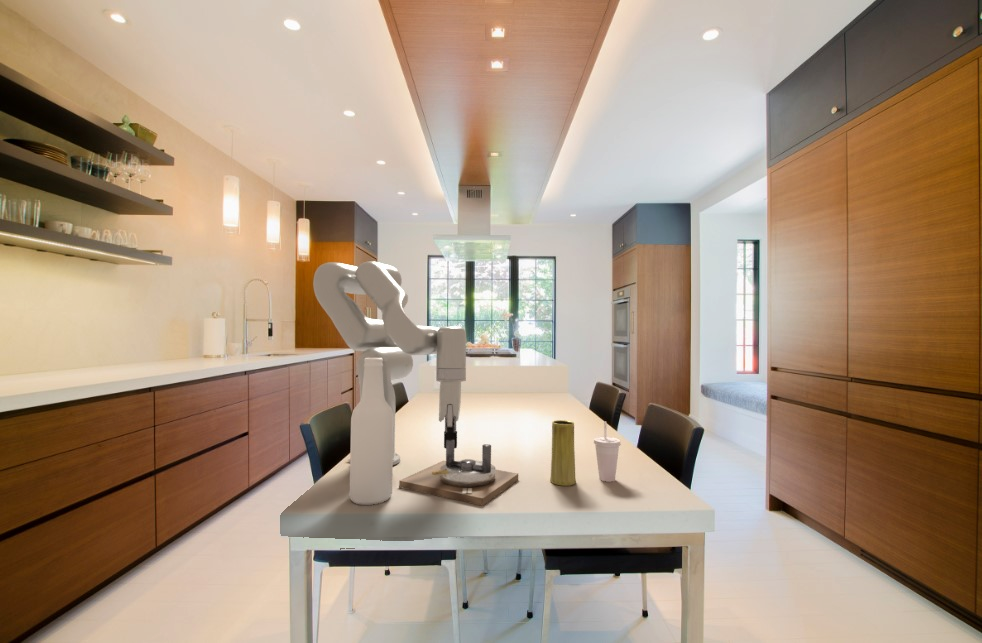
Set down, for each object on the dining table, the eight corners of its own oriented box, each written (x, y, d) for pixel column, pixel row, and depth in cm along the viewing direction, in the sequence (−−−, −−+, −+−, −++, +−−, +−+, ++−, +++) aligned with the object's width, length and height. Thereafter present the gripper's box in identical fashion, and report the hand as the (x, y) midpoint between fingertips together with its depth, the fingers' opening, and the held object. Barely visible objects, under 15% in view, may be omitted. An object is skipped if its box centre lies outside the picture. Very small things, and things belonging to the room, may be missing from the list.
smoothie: (605, 473, 108) (605, 418, 108) (626, 480, 102) (626, 423, 103) (588, 477, 104) (588, 421, 105) (608, 485, 99) (608, 425, 99)
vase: (575, 487, 97) (575, 425, 98) (549, 485, 99) (549, 424, 99) (575, 478, 103) (575, 420, 104) (550, 476, 105) (551, 419, 105)
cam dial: (424, 482, 94) (425, 446, 95) (459, 465, 107) (459, 434, 108) (474, 493, 88) (475, 454, 89) (504, 473, 101) (504, 440, 102)
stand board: (399, 487, 96) (399, 479, 97) (443, 466, 112) (443, 459, 112) (482, 505, 86) (482, 497, 86) (518, 479, 102) (518, 472, 102)
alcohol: (390, 505, 86) (392, 359, 87) (345, 507, 85) (348, 359, 86) (393, 489, 95) (395, 357, 96) (353, 491, 94) (355, 357, 95)
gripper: (438, 372, 114) (437, 440, 114) (433, 377, 99) (433, 456, 99) (466, 372, 115) (465, 440, 114) (465, 377, 100) (464, 455, 99)
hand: (450, 447), depth 106 cm, fingers closed
